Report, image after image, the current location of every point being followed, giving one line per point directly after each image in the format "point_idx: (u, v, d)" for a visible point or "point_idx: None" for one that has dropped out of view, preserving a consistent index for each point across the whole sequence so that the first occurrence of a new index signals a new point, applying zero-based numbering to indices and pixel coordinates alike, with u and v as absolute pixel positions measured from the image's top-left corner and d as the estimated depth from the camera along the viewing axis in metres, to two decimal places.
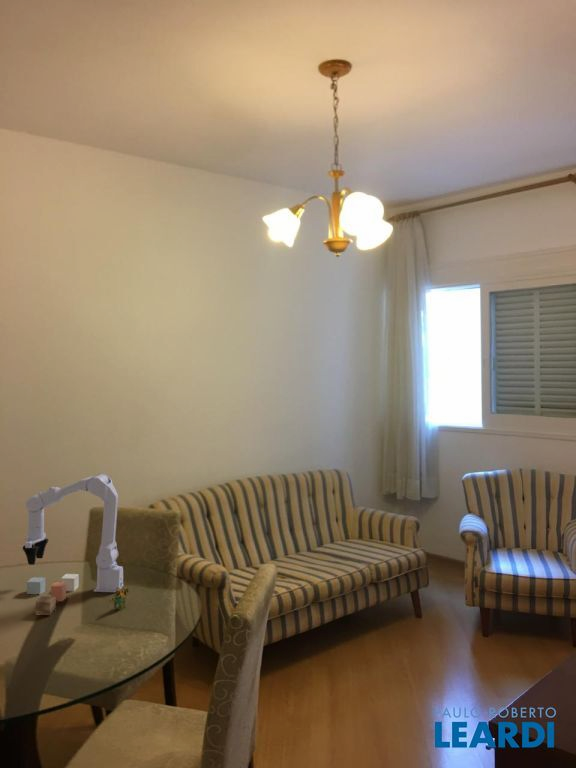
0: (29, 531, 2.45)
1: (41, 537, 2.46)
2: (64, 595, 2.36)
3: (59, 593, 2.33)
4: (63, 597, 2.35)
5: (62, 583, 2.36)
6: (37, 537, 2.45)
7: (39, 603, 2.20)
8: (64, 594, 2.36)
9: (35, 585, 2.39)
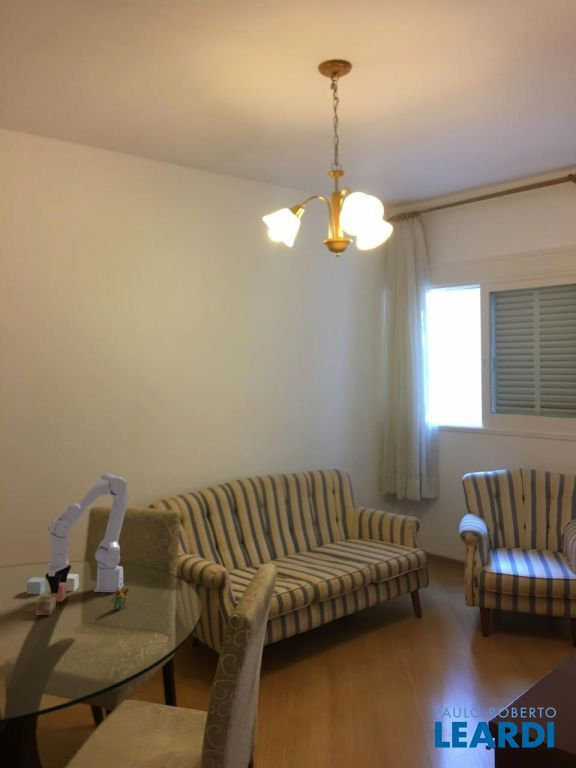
0: (52, 558, 2.32)
1: (64, 564, 2.33)
2: (64, 595, 2.36)
3: (59, 593, 2.33)
4: (63, 597, 2.35)
5: (62, 583, 2.36)
6: (61, 564, 2.32)
7: (39, 603, 2.20)
8: (64, 594, 2.36)
9: (35, 585, 2.39)
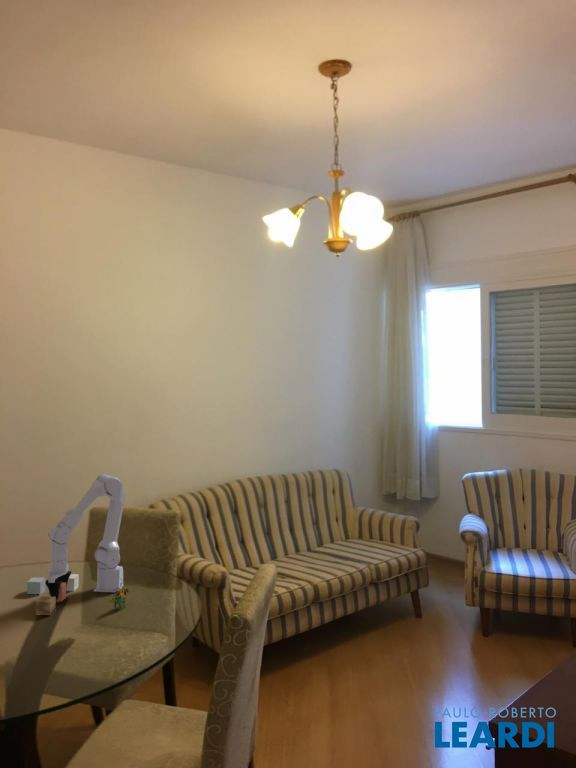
0: (52, 564, 2.32)
1: (64, 570, 2.33)
2: (64, 595, 2.36)
3: (59, 593, 2.33)
4: (63, 597, 2.35)
5: (62, 583, 2.36)
6: (60, 571, 2.32)
7: (39, 603, 2.20)
8: (64, 594, 2.36)
9: (36, 585, 2.39)
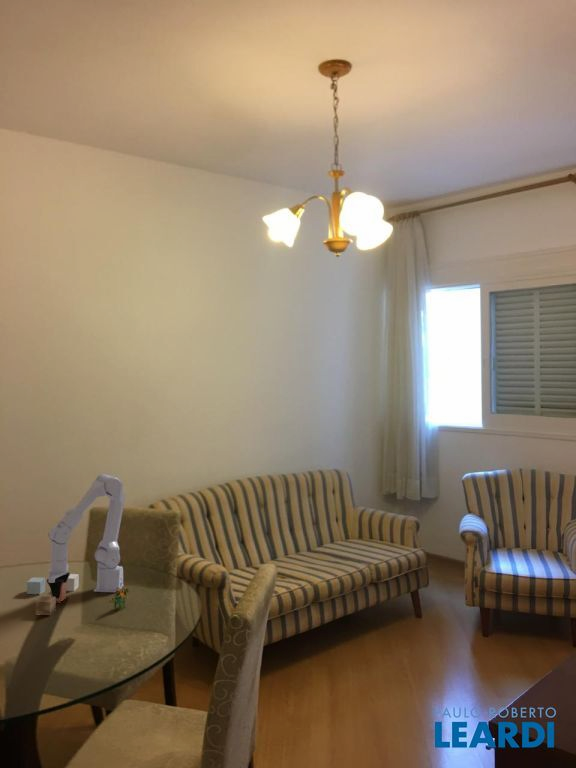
0: (52, 564, 2.32)
1: (64, 570, 2.33)
2: (64, 595, 2.36)
3: None
4: (63, 597, 2.35)
5: (62, 583, 2.36)
6: (60, 571, 2.32)
7: (39, 603, 2.20)
8: (64, 594, 2.36)
9: (36, 585, 2.39)
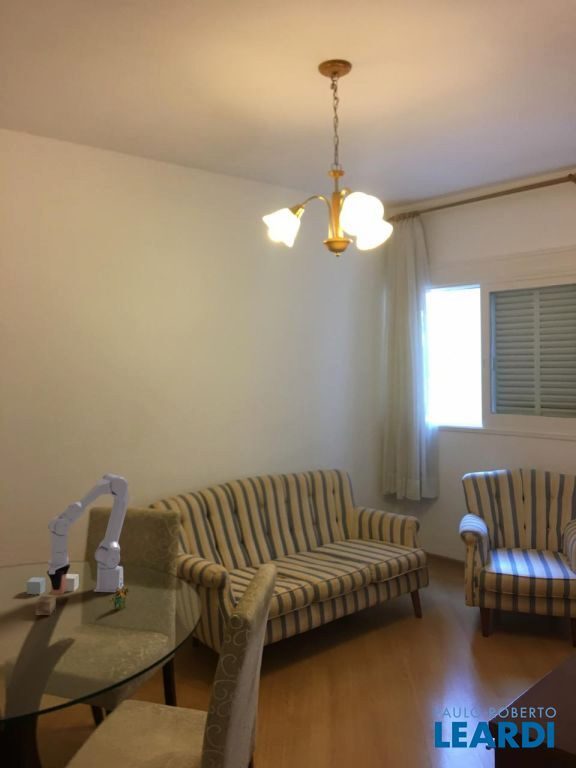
0: (52, 556, 2.32)
1: (64, 562, 2.33)
2: (65, 586, 2.36)
3: None
4: (63, 589, 2.34)
5: (62, 575, 2.36)
6: (61, 562, 2.32)
7: (39, 603, 2.20)
8: (64, 586, 2.36)
9: (35, 585, 2.39)
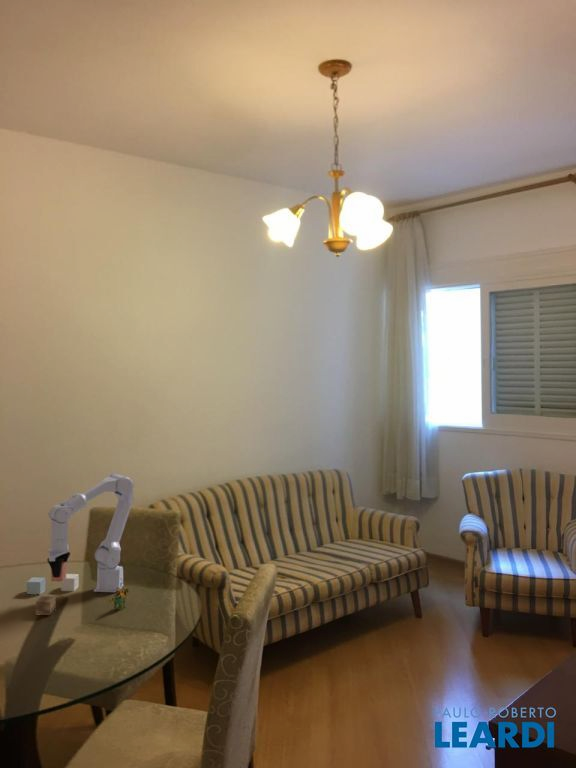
0: (52, 543, 2.32)
1: (65, 550, 2.33)
2: (65, 574, 2.36)
3: None
4: (63, 576, 2.34)
5: None
6: (61, 550, 2.32)
7: (39, 603, 2.20)
8: (64, 573, 2.35)
9: (35, 585, 2.39)
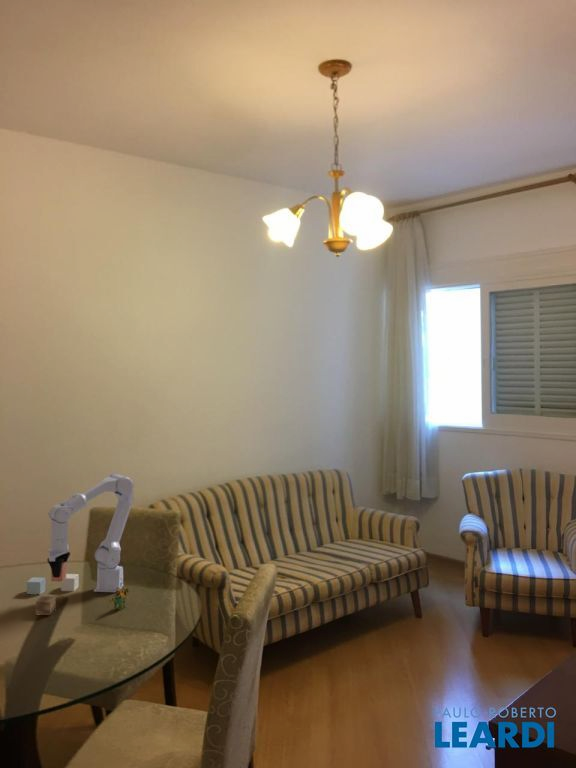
0: (52, 543, 2.32)
1: (65, 550, 2.33)
2: (65, 574, 2.36)
3: None
4: (63, 576, 2.34)
5: None
6: (61, 550, 2.32)
7: (39, 603, 2.20)
8: (64, 573, 2.35)
9: (36, 585, 2.39)
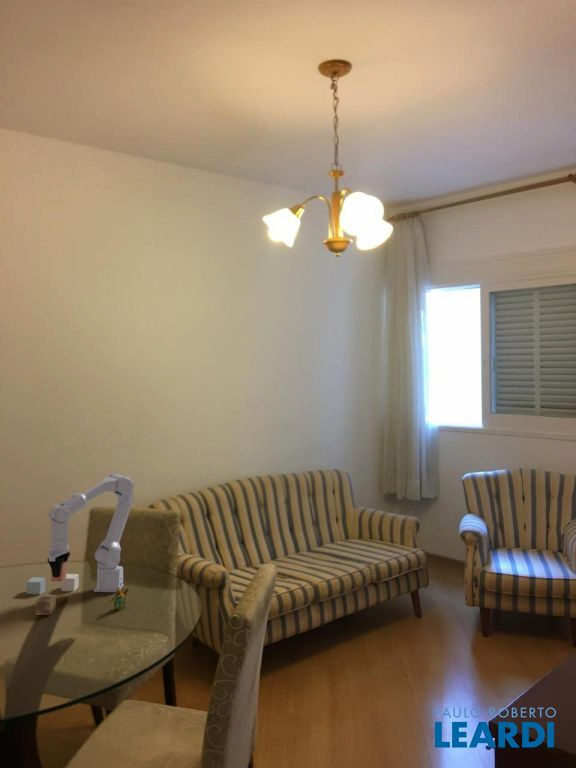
0: (52, 543, 2.32)
1: (65, 550, 2.33)
2: (65, 574, 2.36)
3: None
4: (63, 576, 2.34)
5: None
6: (61, 550, 2.32)
7: (39, 603, 2.20)
8: (64, 573, 2.35)
9: (36, 585, 2.39)
